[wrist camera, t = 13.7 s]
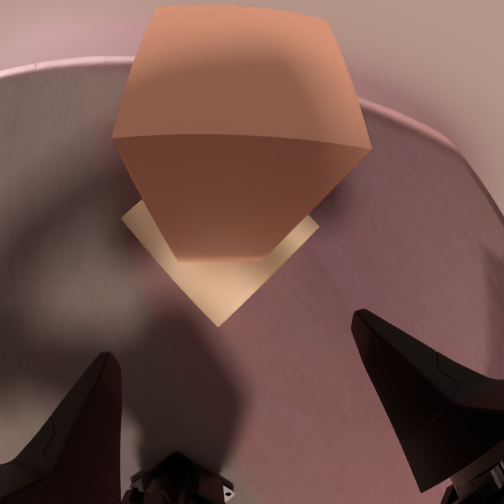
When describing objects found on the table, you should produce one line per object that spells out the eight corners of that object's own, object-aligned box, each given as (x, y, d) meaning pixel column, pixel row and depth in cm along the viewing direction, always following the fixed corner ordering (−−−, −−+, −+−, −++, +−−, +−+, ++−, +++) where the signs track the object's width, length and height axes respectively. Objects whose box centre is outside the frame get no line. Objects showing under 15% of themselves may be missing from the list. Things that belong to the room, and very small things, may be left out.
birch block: (216, 325, 21) (218, 327, 18) (131, 229, 21) (120, 218, 18) (306, 236, 23) (319, 226, 20) (222, 154, 24) (225, 134, 21)
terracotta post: (261, 261, 19) (371, 149, 6) (177, 261, 18) (110, 138, 5) (257, 185, 20) (326, 19, 7) (180, 184, 20) (156, 7, 6)
